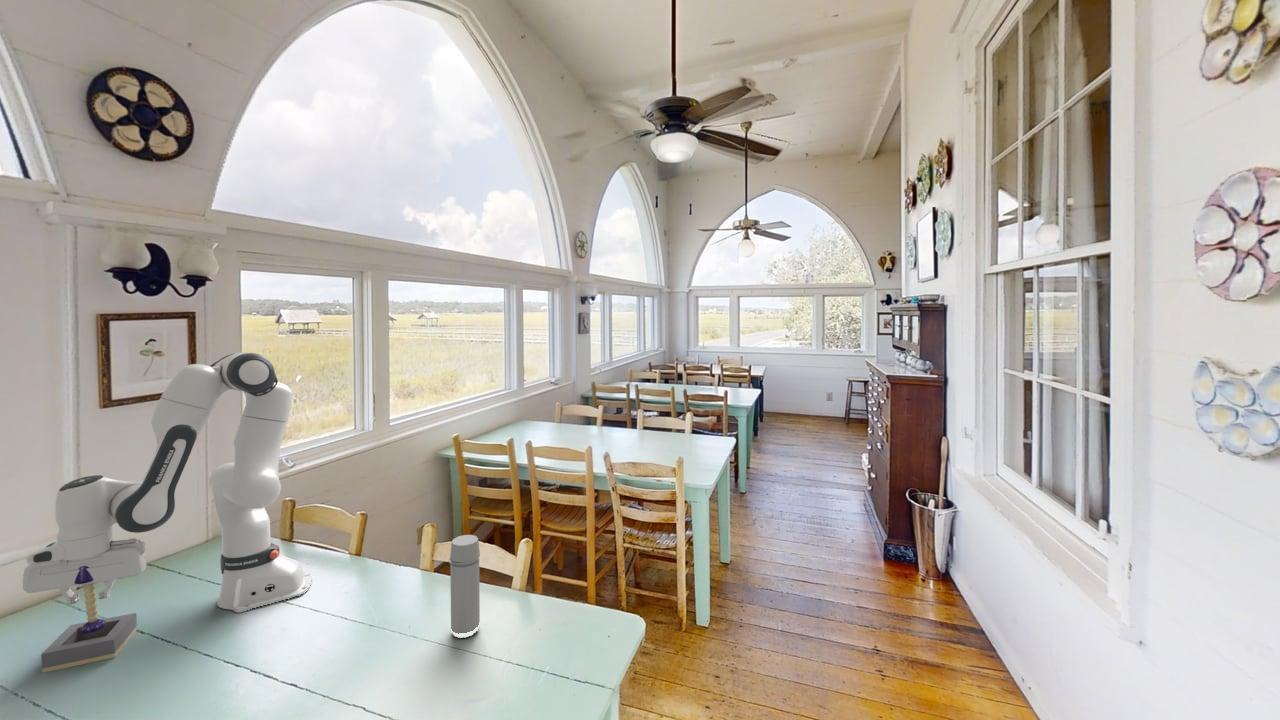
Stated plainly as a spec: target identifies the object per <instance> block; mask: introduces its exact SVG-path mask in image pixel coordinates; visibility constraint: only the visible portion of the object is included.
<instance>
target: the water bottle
mask: <svg viewBox="0 0 1280 720" xmlns="http://www.w3.org/2000/svg"><path fill="white" fill-rule="evenodd" d="M450 548H451V549H450V554H449V555H450V556H449V558H448V559H447V562H448V564H450V566H449V567H450V630H451V629H452V631H453V632H455V633H458V634H459V633H467V632H470V631H473V630H474V629H475V628H476V627H478V625H479V622H480V620H481V619H480V611H481V610H480V607H481V606H480V601H481V600H480V556H481V552H480V551H481V550H480V543H479V538H478V537H477V535H474V534H463V535H458V536H457V537H454V538H453V539H452V540H451V546H450Z"/></svg>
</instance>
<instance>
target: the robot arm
mask: <svg viewBox="0 0 1280 720" xmlns="http://www.w3.org/2000/svg"><path fill="white" fill-rule="evenodd" d="M229 390H233V391H240V392H243V393H244V395H245V406H244V408H243V412H242V414H241V417H240V420H239V424H238V426H237V430H236V433H235V436H234V439H233V446H234V461H233V462H227V463H223V464H221V465H219V466H218V467H216V468H215V469H214V470H213V471H212V472H211V474H210V476H209V479H208V483H209V484H208V485H209V487H210V489H211V491H212V496H213V500H214V501H213V502H214V505H215V508H216V512H217V516H218V521H219V524H220V529H221V530H220V532H221V545H222V546H221V547H222V549H221V550H222V553H221V554H220V558H219V563H220V565H219V567H220V571H221V572H220V573H221V575H222V577H221V587H220V592H219V597H218V599H217V602H216V605H217V607H219V609H220V608H221V609H225V610H231V611H233V612H235V613H243V612H247V610H248V611H251V610H253V609H252V608H255V609H257V608H256V607H259V606H262V607H264V606H263V605H266V604H270V605H272V604H271V603H273V604H275V603H274V602H277V603H279V602H278V601H281V600H284V601H286V600H285V599H288V598H292V597H295V596H299V595H301V594H303V593H304V592H305V591H306V590H307V589H308V588H309V587H310V588H311V586H312V584H311V581H312V582H313V577H312V575H311V573H310V572H307V571H306V572H304V571H303V567H302V565H301V563H300V562H299V561H298V560H296V559H294V558H290V557H287V556H285V555H283V554H280V551H281V549H280V543H279V542H277V544H275V543H272V542H271V520H270V516H269V514H268V512H267V510H266V507H268V506H270V505H272V504H273V503H274V502H275V501H276V500H277V499H278V498H279V496H280V493H281V491H282V485H281V481H280V478H279V467H280V463H279V462H280V451H281V445H282V441H283V437H284V434H285V431H286V428H287V425H288V421H289V417H290V413H291V408H292V400H293V392H292V389H291V388H290V387H289V386H288V385H286V384H285V383H282V382H279V380H278V378H277V375H276V370H275V368H274V366H273V364H272V362H271V361H270V359H268V357H266V356H264V355H262V354H260V353H255V352H248V351H247V352H245V351H244V352H243V351H241V352H236V353H231V354H227V355H226V356H224V357H222V358H220V359H218V360H217V361H215V362H214V363H212V364H211V365H206V364H202V363H200V364H198V363H193V364H192V363H191V364H188V365H185V366H183V367H182V368H181V369H179V371H178V372H177V373H176V374H175V376H174V377H173V378H172V379H171V380H170V382H169V384H167V386H166V388H165V389H164V391H163V393H162V394H161V396H160V398H159V399H158V401H157V404H156V406H155V409H154V411H153V414H152V418H151V423H150V424H151V426H152V429H153V432H154V435H155V439H156V450H155V453H154V457H153V459H152V460H151V463H150V465H149V467H148V469H147V472H146V474H145V476H144V477H143V480H122V479H114V478H110V477H107V476H105V475H101V474H98V475H87V476H84V477H80V478H77V479H74V480H71V481H69V482H67V483H65V484H64V485H62V486H61V487H60V488H59V489H58V491H57V494H56V498H55V505H54V509H55V510H54V512H55V513H54V514H55V522H56V524H57V526H58V533H57V535H56V540H55V541H51V542H49V543H46V544H44V545H42V546H40V547H39V548H37V549H35V550H34V551H33V552H31V553H30V554H28V555H27V556H26V563H27V564H28V565H27V566H26V567H25V568H24V571H23V574H22V590H23V591H24V592H26V593H28V594H32V593H40V592H46V591H52V590H57V589H58V590H59V593H60V595H62V596H63V597H64V598H65V599H66V604H67V605H73V604H78V602H79V601H80V599H81V598H80V595H81V594H80V592H77V593H75V592H74V590H72V588H73V587H76V586H83V585H84V584H91V583H94V584H97V583H101V582H104V583H103V584H104V586H106V587H105V588H104V589H100V591H99V592H98V598H99V600H103V599H108V598H110V597H111V595H112V589H111V588H113V586H114V585H115V583H116V582H117V580H121V579H127V578H133V577H138V576H140V575H141V574H142V573H144V571H145V569H146V568H147V559H146V555H145V551H146V544H145V541H143V540H141V539H138V538H136V537H135V538H134V537H133V538H129V539H119V540H114V537H113V525H114V524H118V527H120V528H121V529H122V530H124V531H127V532H129V533H137V534H138V533H146V532H150V531H154V530H156V529H158V528H160V527H162V526H163V525H164V524H166V522H167V521H169V520H170V518H171V517H172V515H173V514H174V512H175V508H176V503H175V502H176V500H175V499H176V498H175V494H176V489H177V485H178V483H179V481H180V478H181V476H182V474H183V471H184V469H185V467H186V464H187V462H188V460H189V457H190V456H191V453H192V451H193V448H194V445H195V443H196V442H197V440H198V438H199V436H200V434H201V432H202V430H203V428H204V427H205V424H206V423H207V421H208V419H209V418H210V416H211V414H212V412H213V409H214V408H215V405H216V403H217V401H218V400H219V399H220V397H221V396H222V395H223V394H224V393H226V392H228V391H229ZM82 566H88V567H89V568H87V569H86V570H87V571H88V572H89V573H90V574H91V576H92V577H93V581H92V582H88V583H84V584H75V579H76V577H77V574H78V572H79V571H80V570H78V569H79V568H80V567H82ZM306 576H308V577H306ZM310 585H311V586H310ZM310 588H309V589H310ZM304 594H305V593H304ZM304 594H303V595H304ZM301 596H302V595H301ZM299 597H300V596H299ZM295 598H296V597H295ZM292 599H293V598H292ZM288 600H289V599H288ZM281 602H282V601H281ZM266 606H267V605H266ZM259 608H260V607H259ZM250 609H251V610H250Z"/></svg>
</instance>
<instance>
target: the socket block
mask: <svg viewBox="0 0 1280 720" xmlns="http://www.w3.org/2000/svg"><path fill="white" fill-rule="evenodd" d="M102 619H103V620H104V621H105V622H106V626H105V627H104V628H102V629H100V630H98V631H95V632H92V633H87V634H82V633H81V632H80V631H81V628H82V626H83V625H84V624H86V623H87V622H88V621H86V622H79V623H74V624H70V625H69V626H68V627H67V628H65V630H64V631H63V632H62V633H60V635H59V636H58V637H57V638H56V639H55V640H54V641H53V642H52V643H51V644H50V645H49V646H48V647H46V649H45V650H44V651H43V652H42V653H41V654H40V655H41V657H40V659H41V671H42V672H41V673H48V672H53V671H54V672H55V671H58V670H63V669H67V668H71V667H77V666H81V665H85V664H90V663H95V662H99V661H106V660H109V659H113V658H115V657H117V656H118V654H119V653H120V651H121V650H122V649H123V648H124V647H125V645H126V644H127V643H128V641H130V640H131V638H132V637H133V635H134V633H136V631H137V630H138V625H137V624H138V623H137V622H138V621H137V612H133V613H128V614H122V615H118V616H117V615H116V616H112V617H108V618H107V617H106V618H102Z"/></svg>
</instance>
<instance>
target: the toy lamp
mask: <svg viewBox="0 0 1280 720" xmlns="http://www.w3.org/2000/svg"><path fill="white" fill-rule="evenodd" d="M87 568H89V567H88V566H82V567H80V568H79V569H78V570H80V571H79V572H78V574H77V577H76V579H75V584H84V583H88V582H92V581H93V577H92V576H91V574H90V573H89V572H88V571H87V570H86V569H87ZM94 584H95V583H91V584H84V585H82V586H84V587H83V592H84V594H83V595H84V598H85V601H84V603H85V610H86V616H87V617H86V618H87V621H86V622H87V623H86V624H84V625H83V626H82V628H81V631H80V632H81V633H82V634H87V633H92V632H95V631H98V630H100V629H102V628H104V627H105V626H106V622H105V621H104V620H103V619H104V618H99V616H98V609H97V606H98V605H97V603H96V602H97V598H96V591H95V585H94Z"/></svg>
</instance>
